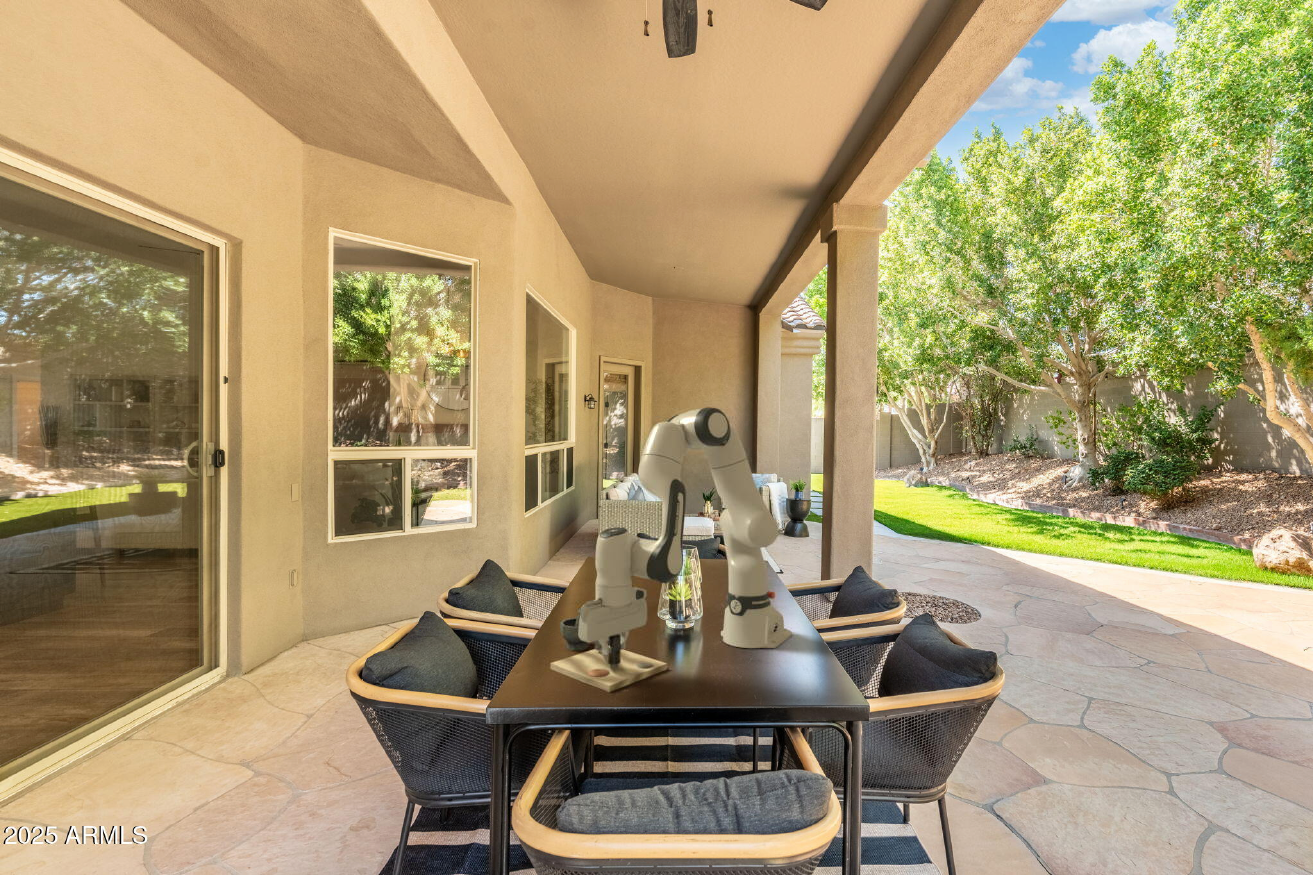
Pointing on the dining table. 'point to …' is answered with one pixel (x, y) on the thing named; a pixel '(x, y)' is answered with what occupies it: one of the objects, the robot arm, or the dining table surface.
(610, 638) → the lever
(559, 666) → the lever board
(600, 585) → the robot arm
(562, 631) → the mortar and pestle
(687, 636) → the dining table surface
